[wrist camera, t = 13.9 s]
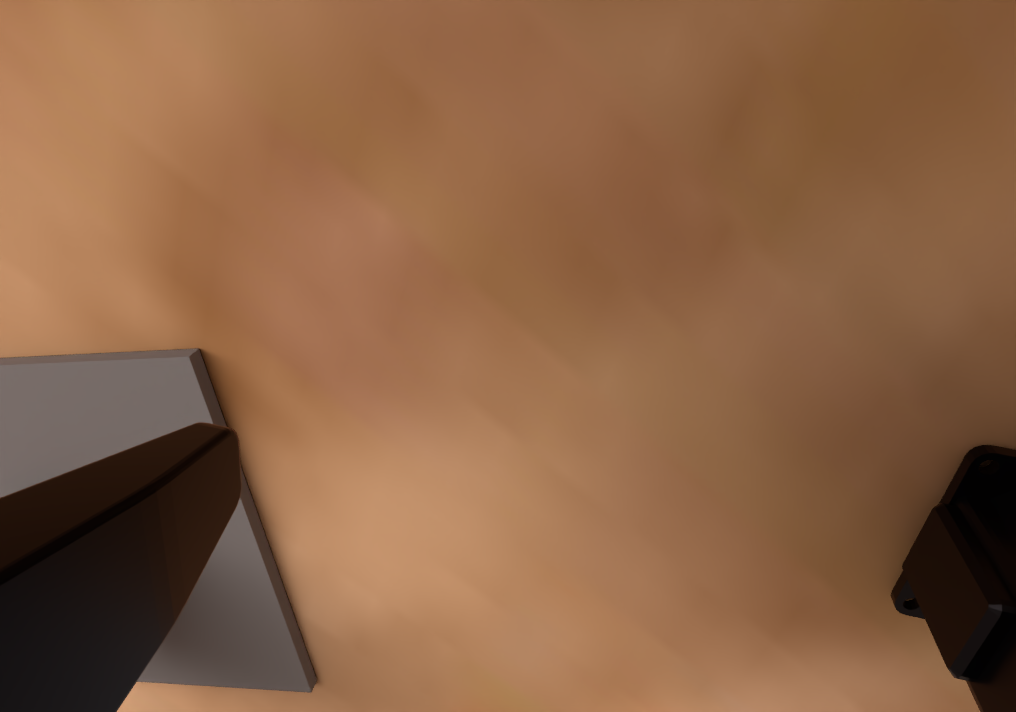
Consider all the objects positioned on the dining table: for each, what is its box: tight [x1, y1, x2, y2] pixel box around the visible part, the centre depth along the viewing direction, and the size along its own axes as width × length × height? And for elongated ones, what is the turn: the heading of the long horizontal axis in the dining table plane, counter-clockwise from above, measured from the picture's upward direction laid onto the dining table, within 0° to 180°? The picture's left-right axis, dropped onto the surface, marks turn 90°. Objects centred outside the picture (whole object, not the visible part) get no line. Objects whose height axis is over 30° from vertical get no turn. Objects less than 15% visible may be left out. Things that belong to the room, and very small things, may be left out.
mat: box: [0, 349, 317, 692], centre depth 28 cm, size 16×16×1 cm
